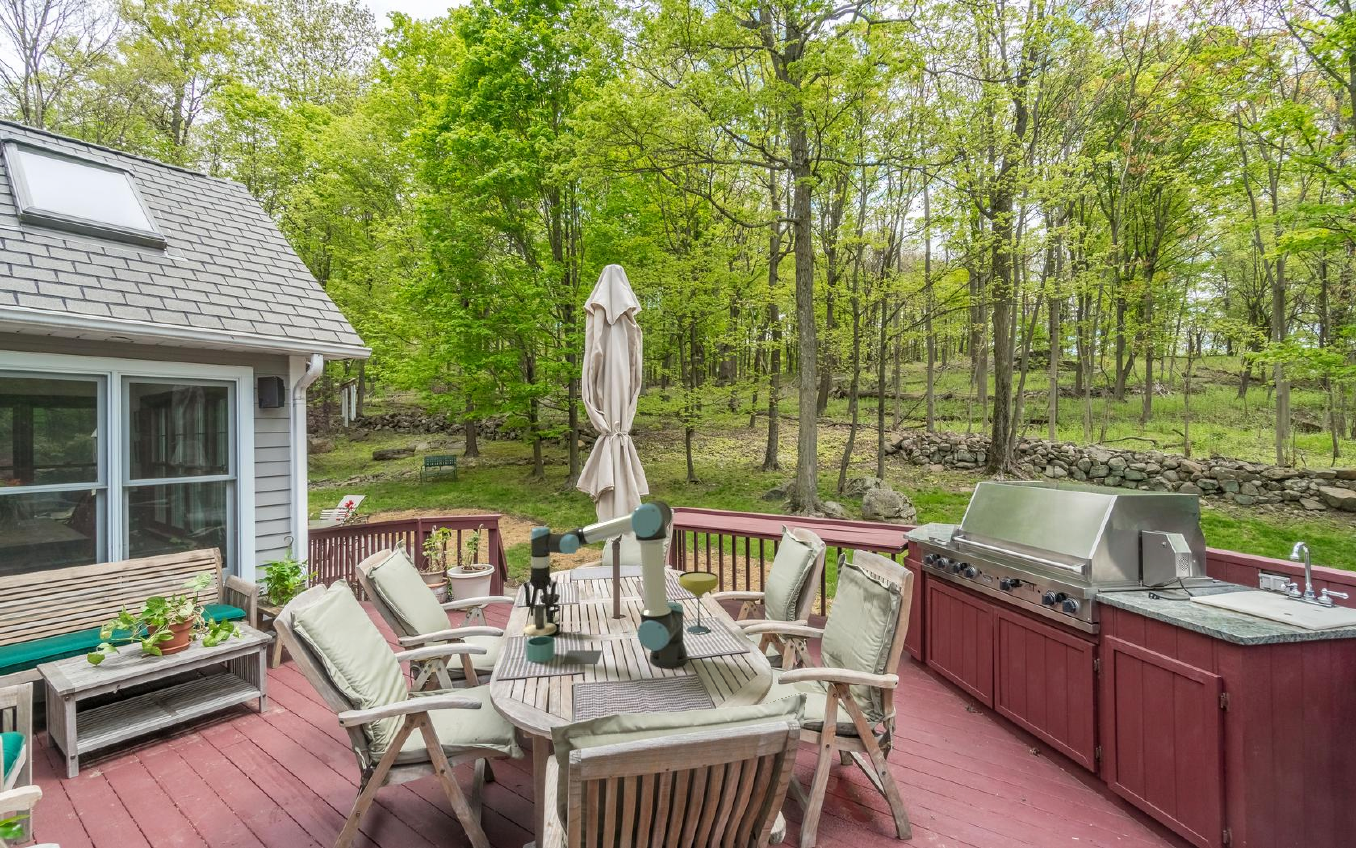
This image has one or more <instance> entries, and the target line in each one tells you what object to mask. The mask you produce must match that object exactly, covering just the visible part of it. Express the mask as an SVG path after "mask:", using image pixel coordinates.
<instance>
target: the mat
mask: <svg viewBox="0 0 1356 848" xmlns="http://www.w3.org/2000/svg"><path fill="white" fill-rule="evenodd" d="M601 654H602V650H601V649H600V650H599V649H598V650H594V649H593V650H592V649H591V650H590V649H589V650H586V649H583V650H579V649H578V650H577V649H576V650H573V649H572V650H571V649H569V650H567V652H566V655H565V657H564V658H563V660H562V662H561V665H598V662H599V661H600V657H601Z"/></svg>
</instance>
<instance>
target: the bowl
mask: <svg viewBox="0 0 1356 848" xmlns="http://www.w3.org/2000/svg"><path fill="white" fill-rule="evenodd" d="M555 641H556V639H554V637H548V636H532V637H530V638H529V639H527V640H526V641H525V658H526V661H527V662H530V663H537V664H539V663H545V662H548V661H551V660H553V659H554V658H555V653H556V652H555V649H556V647H555V646H556V643H555Z"/></svg>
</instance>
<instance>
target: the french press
mask: <svg viewBox="0 0 1356 848" xmlns="http://www.w3.org/2000/svg"><path fill="white" fill-rule="evenodd" d="M548 588H549V589H551V584H550V583H549V585H548ZM548 597H549V603H550V598H551V593H548ZM560 598H561V595H560V594H558V593H555V601H554V605H553V607H550V614H549V616H547V623H552V624H555V625H556V631H555V632H554V633H552V634H549V635H545V636H548V637H552V638H554V637H557V636H560V635H561V606H560V605H559V604H556V603H558V602H559V599H560ZM539 599H540V604H543V605H545V601H544V595H543V594H542V595H540V596H539ZM551 608H555V609H551ZM557 612H558V617H557V616H554V613H557Z"/></svg>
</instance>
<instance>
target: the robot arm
mask: <svg viewBox="0 0 1356 848" xmlns="http://www.w3.org/2000/svg"><path fill="white" fill-rule="evenodd" d="M672 519H673V510H672V508H671V507H670V505H669V504H668V503H666V501H664V500H657V499H656V500H653V501H649V502H646V503H642V504H641V505H639V506H637V507H636V508H635V509H634V511H632V512H628V513H626V514H622V515H619V516H618V515H617V516H615V517H612V518H608V519H604V520H603V521H598V522H595V523H591V524H589V525H586V526H580V527H577V528H574V529H572V530H570V531H567V532H564V533H553V532H551V529H550V527H547V526H538V527H534V528H532V529H531V534H530V544H531V545H530V566H531V567H530V578H529V580H526V581H524V582H523V586H524V591H525V606H526V608H529V609H530V617H532V624H533V625H535V624H536V601H537V598H538V597H537V596H538V591H539V590H541V591H542V595H544V601H545V604H544V605H545V608H544V625H546V624H547V616H549V614H550V607H551V608H554V607H553V605H554V604H555V603H554V601H555V594H556V587H557V584H558V582H557V581H556V580H555V581H554V580H552V579H551V566H550V565H551V553H555V554H564V555H568V554H569V555H572V554H575V553H576V552H577V551H578V550H579V548H581V547H583V546H587V545H590V544H594V543H596V542H600V541H604V540H607V539H611V538H614V537H618V536H622V535H625V534H629V533H635V541H637V542H638V543H639V547H640V560H641V561H640V562H641V575H642V576H641V577H642V590H643V591H642V594H643V605H644V606H643V608H642V609H641V611H640V625H639V627H638V629H637V639H638V641H639V642H640V644H641V645H642V646H643V647H644V648H645V649H647V650H650V653H649V654H650V655H649V662H650V664H651V665H652V666H654V667H657V666H658V667H657V668H663V669H674V668H679V667H682V666H685V665H686V664H687V663H688V661H689V660H688V659H689V658H688V656H689V655H688V651H687V650H686V646H685V643H684V613H685V612H684V606H683V604H681V603H679V602H676V601H668V600H667V588H666V587H667V585H666V573H665V572H666V571H665V569H666V568H665V557H664V542H665V540H666V539H667V527H668V526H669V525H670V523H671V522H672ZM549 583H550V584H551V587H550V594H551V598H550V603H549V597H548V594H549V592H548V587H549ZM530 586H532V587H533V589H532V597H531V587H530Z"/></svg>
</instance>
